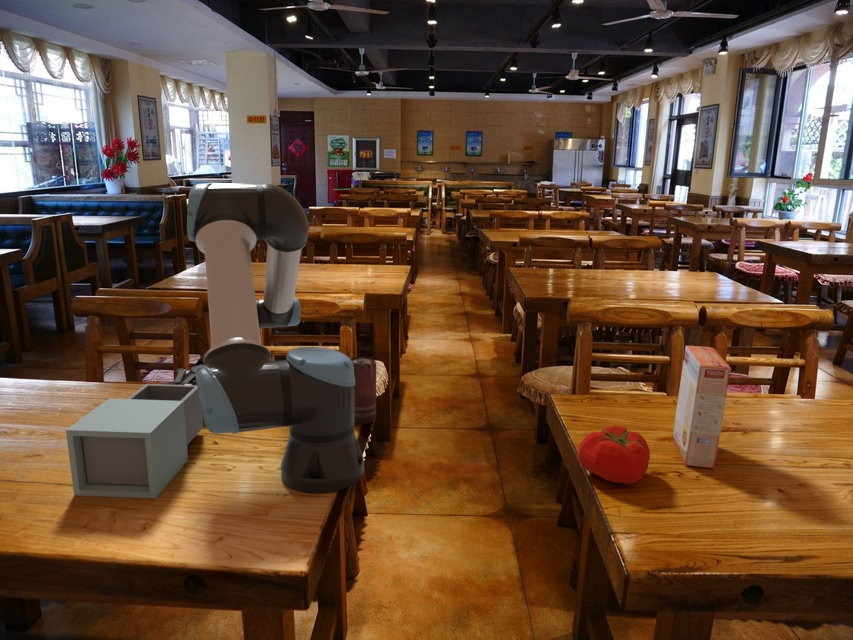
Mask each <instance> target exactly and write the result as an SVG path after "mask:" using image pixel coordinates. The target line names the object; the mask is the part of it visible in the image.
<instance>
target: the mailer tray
mask: <svg viewBox="0 0 853 640" xmlns="http://www.w3.org/2000/svg"><path fill="white" fill-rule="evenodd" d="M126 399H138V400H169V401H184V412H185V425H186V439H187V446H188V445H190V443H191V442H192V441H193V439H195V437H196V436H197V435H198V434H199V433H200V431H201V430H203V428H204V418H203V414H202V410H201V405H200V400H199V392H198V388H197V386H196V385H174V384H162V383H161V384H160V383H157V384H156V383H146V384H144V385H143V386H142V387H140V388H139V389H138V390H136V391H135V392H134V393H132V394H131V395H130V396H129V397H127V398H126ZM82 438H83V446H84V455H85V463H86V471H87V479H88V483H106V484H134V485H149V479H148V468H147V458H146V447H145V438H121V437H91V436H82Z"/></svg>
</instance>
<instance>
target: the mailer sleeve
mask: <svg viewBox="0 0 853 640" xmlns="http://www.w3.org/2000/svg"><path fill="white" fill-rule="evenodd" d="M65 434H66V442H67V448H68V449H67V450H68V458H69V465H70V472H71V473H70V474H71V480H72V488H73V489H72V490H73V495H74V496H78V497H79V496H82V497H84V496H85V497H86V496H87V497H108V498H113V497H114V498H136V499H137V498H141V499H157V498H158V497H159V495H161V493H162V492H163V491H164V489H165V488H166V487H167V486H168V485H169V483H170V482H171V481H172V480H173V478H174V477H175V476H176V475H177V474H178V473H179V472H180V470H181V469H182V468H183V467H184V465H185V464H186V463H187V462H188V461H189V454H188V445H187V439H186V425H185V412H184V401H169V400H138V399H127V398H108V399H107V400H105V401H103V402H102V403H101V404H99V405H98V406H97V407H95V408H94V409H93V410H91V411H90V412H89V413H87V414H85V415H84V416H83V417H82V418H80V419H79V420H78V421H76V422H75V423H73V424H72V425H71V426H69V427H68V428H67V429H65ZM82 436H91V437H121V438H145V447H146V458H147V468H148V479H149V485H134V484H106V483H88V479H87V471H86V463H85V455H84V446H83V438H82Z"/></svg>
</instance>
